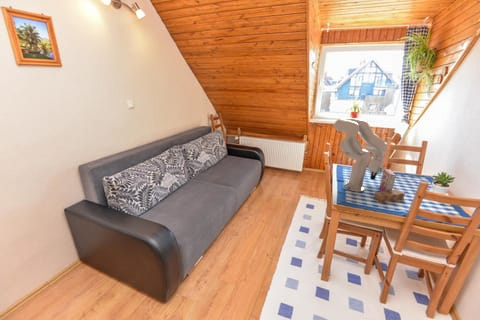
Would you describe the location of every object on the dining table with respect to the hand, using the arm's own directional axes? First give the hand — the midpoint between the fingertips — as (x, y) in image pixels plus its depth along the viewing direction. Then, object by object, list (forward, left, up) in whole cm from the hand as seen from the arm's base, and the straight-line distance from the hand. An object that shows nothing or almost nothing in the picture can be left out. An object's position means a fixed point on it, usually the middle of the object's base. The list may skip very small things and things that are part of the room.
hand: (372, 179), depth 177 cm
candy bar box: (+1, -13, -5) cm, 14 cm away
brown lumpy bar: (-4, -23, -5) cm, 24 cm away
